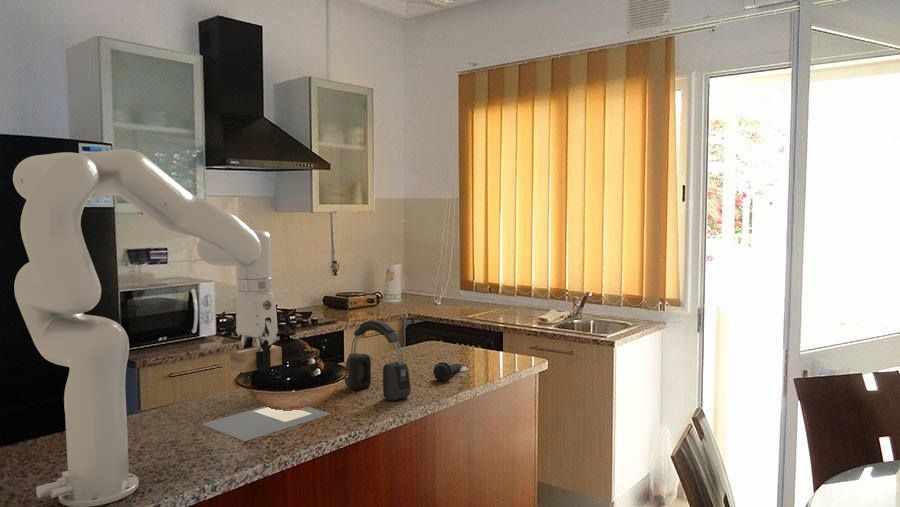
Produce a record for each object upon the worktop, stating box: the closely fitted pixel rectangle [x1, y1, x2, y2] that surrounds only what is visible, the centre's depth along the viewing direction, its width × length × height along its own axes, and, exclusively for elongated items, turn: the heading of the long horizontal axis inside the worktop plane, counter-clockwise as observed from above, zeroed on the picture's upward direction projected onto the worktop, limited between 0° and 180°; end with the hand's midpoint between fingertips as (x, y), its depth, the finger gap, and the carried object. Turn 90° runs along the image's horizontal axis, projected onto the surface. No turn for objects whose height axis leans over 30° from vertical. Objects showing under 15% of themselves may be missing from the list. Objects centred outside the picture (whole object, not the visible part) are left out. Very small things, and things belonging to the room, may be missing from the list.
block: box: [229, 344, 283, 373], centre depth 146 cm, size 10×5×4 cm, turn 139°
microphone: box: [432, 362, 463, 382], centre depth 197 cm, size 6×6×20 cm
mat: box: [200, 405, 332, 442], centre depth 154 cm, size 24×18×1 cm
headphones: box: [344, 319, 412, 401], centre depth 177 cm, size 22×6×20 cm, turn 47°
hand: (256, 365), depth 146 cm, fingers closed on block, 5 cm apart
